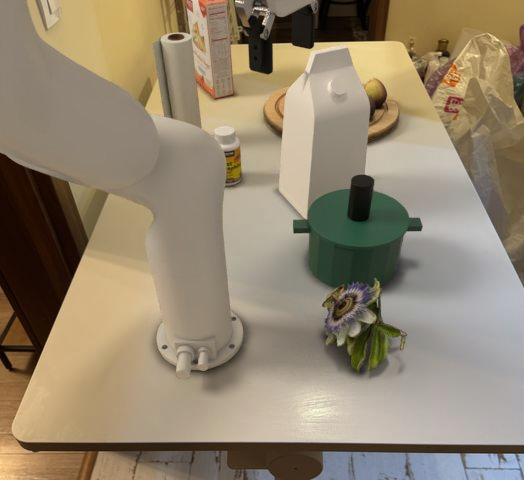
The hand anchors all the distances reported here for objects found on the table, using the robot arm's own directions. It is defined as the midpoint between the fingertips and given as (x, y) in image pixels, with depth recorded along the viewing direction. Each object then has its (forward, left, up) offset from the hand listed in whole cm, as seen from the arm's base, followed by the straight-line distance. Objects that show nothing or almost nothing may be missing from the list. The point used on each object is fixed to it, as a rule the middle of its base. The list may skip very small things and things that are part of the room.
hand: (282, 58), depth 67 cm
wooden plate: (+51, -13, -31) cm, 61 cm away
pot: (-4, -12, -30) cm, 33 cm away
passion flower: (-22, -11, -31) cm, 39 cm away
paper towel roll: (+39, +20, -31) cm, 54 cm away
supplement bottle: (+23, +10, -31) cm, 40 cm away
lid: (-4, -12, -22) cm, 25 cm away
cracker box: (+69, +16, -31) cm, 78 cm away
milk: (+16, -8, -31) cm, 36 cm away
